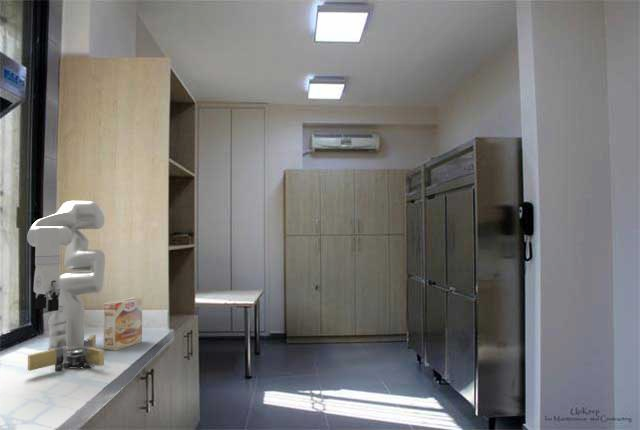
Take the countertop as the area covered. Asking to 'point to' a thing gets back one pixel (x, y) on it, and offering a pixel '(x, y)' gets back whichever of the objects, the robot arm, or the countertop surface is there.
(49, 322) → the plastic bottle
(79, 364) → the tribrach base
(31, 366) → the brushed brass bar
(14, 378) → the countertop surface
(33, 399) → the countertop surface
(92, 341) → the knob
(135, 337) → the coffeecake box
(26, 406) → the countertop surface
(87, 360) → the tan block
